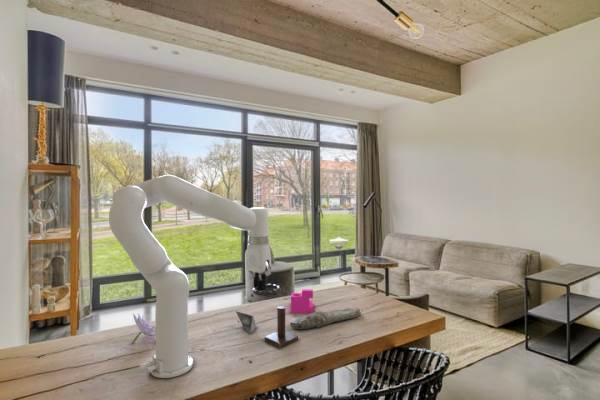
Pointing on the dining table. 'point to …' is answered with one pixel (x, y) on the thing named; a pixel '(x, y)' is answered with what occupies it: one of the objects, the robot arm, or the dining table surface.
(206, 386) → the dining table surface
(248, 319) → the paper boat
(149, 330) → the water lily
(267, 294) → the hoop
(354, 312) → the long grey stone
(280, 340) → the peg stand
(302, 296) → the bracket
